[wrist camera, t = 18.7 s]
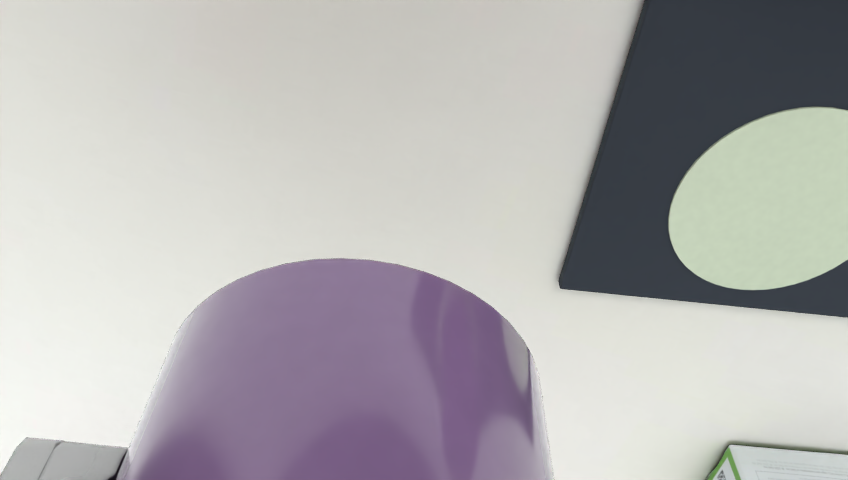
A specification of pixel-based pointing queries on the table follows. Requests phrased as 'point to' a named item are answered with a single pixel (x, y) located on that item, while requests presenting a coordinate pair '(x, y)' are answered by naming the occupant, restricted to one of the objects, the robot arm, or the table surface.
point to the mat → (724, 160)
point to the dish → (343, 383)
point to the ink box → (779, 465)
